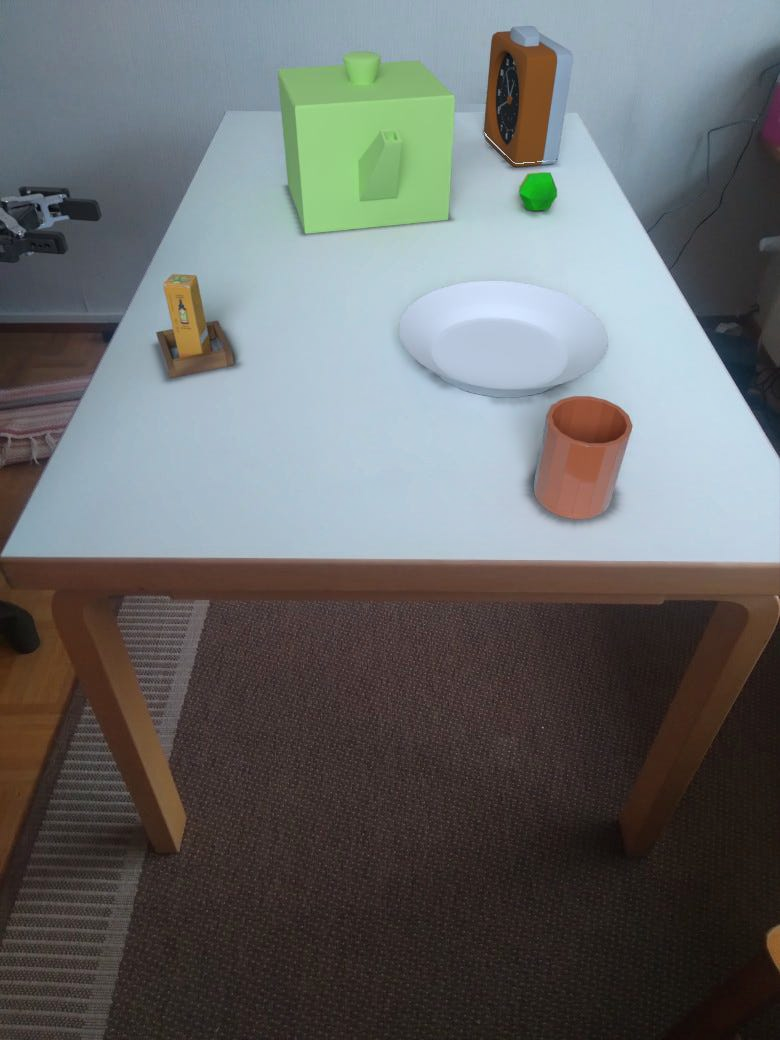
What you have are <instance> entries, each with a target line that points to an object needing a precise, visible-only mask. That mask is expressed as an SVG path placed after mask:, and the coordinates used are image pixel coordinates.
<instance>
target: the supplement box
mask: <svg viewBox="0 0 780 1040" xmlns="http://www.w3.org/2000/svg"><path fill="white" fill-rule="evenodd" d="M198 280H199V279H198V277H197V275H196V274H177V273H176V274H175V273H172V274H170V275H169V277H168V278H167V279H165V281H164V283H163V284H162V287H163V291H164V296H165V299H166V303H167V308H168V313H169V317H170V322H171V326H172V329H173V331H174V335H175V340H176V345H177V346H176V349H177V354H178V358H182V357H187V356H192V355H197V354H202V353H207V352H212V346H211V341H210V340H211V339H209V335H208V330H207V325H206V323H207V321H206V316H205V310H204V307H203V302H202V295H201V290H200V285H199V281H198Z"/></svg>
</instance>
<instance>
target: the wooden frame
mask: <svg viewBox="0 0 780 1040" xmlns="http://www.w3.org/2000/svg"><path fill="white" fill-rule="evenodd" d="M206 325H207V330H208V335H209V340H212V339H216V342H217V344H218V346H219V349H217V350H211V352H207V353H202V354H197V355H192V356H187V357H182V358H179V357H178V358H172V355H171V352H170V348H171V347H177V345H176V340H175V335H174V331H173V328H170V329H166V330H165V329H164V330H160V331H156V332H155V334H156V338H157V342H158V344H159V345H158V346H159V349H160V351H161V355H162V358H163V361H164V364H165V368H166V371H167V373H168V377H169V379H173V378H178V377H183V376H188V375H193V374H197V373H203V372H207V371H211V370H212V371H213V370H217V369H222V368H226V367H230V366H234V365H235V362H234V361H235V360H234V355H233V350H232V348H231V345H230V343H229V341H228V339H227V337H226V335H225V332H224V331H223V328H222V326H221V324H220V322H219V320H218V319H217V320H212V321H206Z"/></svg>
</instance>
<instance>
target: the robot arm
mask: <svg viewBox="0 0 780 1040" xmlns="http://www.w3.org/2000/svg"><path fill="white" fill-rule="evenodd" d="M17 190H18V192H19V196H15V195H10V196H4V197H1V198H0V246H1V247H2V249H3V251H0V263H7V264H8V263H9V264H10V263H11V264H15V263H18V262H20V261H21V258H20V256H25V257H28V256H31V255H33V254H34V253H36V254H37V253H40V254H53V255H54V254H55V255H65V254H66V253H67V252H68V251H69V246H68V242H67V240H66V236H65V234H64V233H63V232H62V231H60V230H59V231H56V230H44V229H48V228H52V227H53V226H54V223H55V222H61V221H65V220H70V221H71V220H72V221H85V222H86V221H87V222H99V221H100V219H102V216H103V215H102V211H101V208H100V204H99V202H98V201H97V200H95V199H90V198H73V197H71V194H70V193H71V192H70V189H69V188H68V187H51V186H50V187H49V186H27V185H26V186H25V185H23V186H20V187H18V188H17ZM38 212H39V213H40V212H41V214H42V218H41V219H39V215H38Z"/></svg>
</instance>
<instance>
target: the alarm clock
mask: <svg viewBox="0 0 780 1040" xmlns="http://www.w3.org/2000/svg"><path fill="white" fill-rule="evenodd" d="M490 40H491V41H490V52H489V64H488V75H487V87H486V100H485V108H484V109H485V110H484V111H485V112H484V120H483V121H484V123H483V133H484V132H485V133H486V134H487V136H488V137H489V138H490V139H491V140H492V141H493V142H494V143H495V144H496V145H497V146H498V147H499V148H500V149H501V150H502V151H503V152H504V153H505V154H506V155H507V156H508V157H509V158H510V159H511V160H512V161H513V162H515V163H523V162H535V163H524V164H515V163H513V162H512V161H511V160H510V159H509V158H508V157H507V156H506V155H504V154H503V153H502V152H501V151H500V150H499V149H498V148H497V147H496V146H495V145H494V144H493V143H492V142H491V141H490V140H489V139H488V138H487V137H486V136H485V135H484V134H483V136H484V139H485V140H486V141H487V142H488V143H489V144H490V146H492V147H493V148H494V149H495V150H496V151H497V152H498V153H499V154H500V155H501V156H502V157H503V158H504V159H505V160H506V161H507V162H508V163H509V164H510V165H511V166H512V167H514V168H521V167H530V166H541V165H553V164H555V163H557V162H558V158H559V154H560V147H561V141H562V134H563V128H564V121H565V115H566V110H567V109H566V108H567V102H568V97H569V89H570V83H571V77H572V70H573V63H574V54H573V53H572V51H571V50H570V49H568V48H566V47H565V46H563V45H562V44H560V43H558V42H556V41H555V40H553V39H552V38H550V37H548V36H547V35H545V34H543V33H542V32H540V31H539V30H538V29H537V27H536V26H534V25H521V26H512V27H511V28H510V30H507V31H496V32H495V33H493V34H492V36H491V39H490ZM556 159H557V160H556ZM542 160H543V161H546V160H555V161H546V162H537V161H542Z"/></svg>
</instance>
